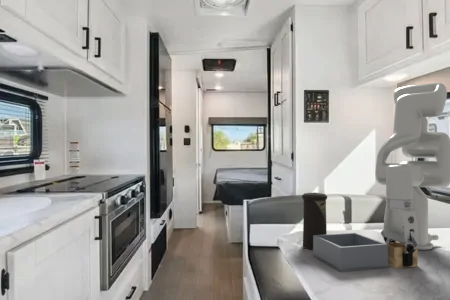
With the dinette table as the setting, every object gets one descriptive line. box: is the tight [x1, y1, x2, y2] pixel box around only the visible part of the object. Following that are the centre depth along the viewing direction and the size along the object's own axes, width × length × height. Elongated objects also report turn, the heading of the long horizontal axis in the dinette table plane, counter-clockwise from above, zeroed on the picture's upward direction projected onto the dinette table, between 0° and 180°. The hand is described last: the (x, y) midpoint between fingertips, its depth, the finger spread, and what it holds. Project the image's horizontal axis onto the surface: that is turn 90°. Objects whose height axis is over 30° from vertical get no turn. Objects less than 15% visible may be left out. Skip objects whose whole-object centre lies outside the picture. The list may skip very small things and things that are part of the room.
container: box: [301, 192, 328, 251], centre depth 128 cm, size 9×9×20 cm
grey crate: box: [312, 232, 389, 273], centre depth 111 cm, size 16×16×7 cm
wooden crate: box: [384, 242, 419, 269], centre depth 109 cm, size 8×6×6 cm
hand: (399, 262), depth 109 cm, fingers closed on wooden crate, 6 cm apart
